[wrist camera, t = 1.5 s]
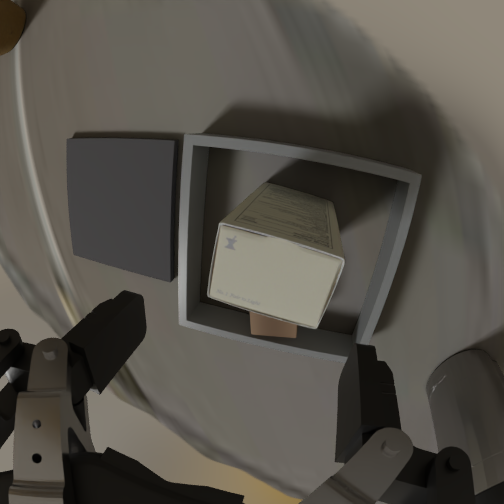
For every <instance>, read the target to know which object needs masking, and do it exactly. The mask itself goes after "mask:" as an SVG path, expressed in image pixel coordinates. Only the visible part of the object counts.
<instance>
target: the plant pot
mask: <svg viewBox="0 0 504 504" xmlns="http://www.w3.org/2000/svg"><path fill="white" fill-rule="evenodd" d="M25 20H26V14H25V11H24V10H23V9H22V8H21V7H20V6H18V5H17V4H15V3H14V2H13V1H11V0H0V56H1V55H3V54H5V53H8V52H9V51H11V50H12V49H13V48H14V46H15V45H16V43H17V42H18V40H19V38H20V36H21V34H22V31H23V28H24V25H25Z"/></svg>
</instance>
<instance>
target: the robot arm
mask: <svg viewBox="0 0 504 504" xmlns="http://www.w3.org/2000/svg"><path fill="white" fill-rule="evenodd" d="M146 328H147V327H146V317H145V307H144V299H143V296H142V295H140V294H136V293H133V292H129V291H126V290H124V291H122V292H121V293H120V294H118V295H117V296H116V297H115V298H114V299H109V300H107V301H105V302H103V303H100V304H99V305H98V306H97V307H96V308H94V309H93V310H92V312H91V313H89V314H88V315H87V316H86V317H85V319H84V318H83V319H82V320H81V321H80V322H79V323H78V324H77V325H76V326H75V327H73V328H72V329H71V330H70V331H69V332H68V333H67V334H66V335H65V336H64V337H63V338H62V339H59V338H47V339H44V340H42V341H40V342H39V343H38V344H37V345H33V344H29V343H24V342H22V340H21V337H20V335H19V333H18V332H17V331H16V330H14V329H4V330H1V331H0V378H1V377H2V376H3V375H4V374H5V375H6V377H7V379H8V381H9V382H8V383H7V385H6V386H5V387H4V388H3V389H2V390H1V391H0V448H1V447H2V445H3V444H4V443H5V441H6V440H7V439H8V437H9V436H10V434H11V433H12V432H13V430H14V450H13V470H10V471H5V472H0V504H244V503H242V502H243V499H244V496H243V495H239V494H235V493H230V492H227V491H223V490H219V489H215V488H212V487H208V486H198V485H188V484H180V483H172V482H168V481H166V480H164V479H162V478H161V477H160V476H158V475H157V474H155V473H153V472H152V471H151V470H149V469H148V468H147V467H145V466H144V465H142V464H141V463H140V462H138V461H137V460H135V459H132V458H130V457H128V456H126V455H124V454H121V453H119V452H117V451H115V450H113V449H111V448H109V447H107V449H106V450H105V452H104V453H97V452H95V448H94V446H93V443H92V440H91V434H90V426H89V416H88V405H87V404H88V403H87V396H86V393H87V392H88V391H89V390H91V391H93V392H95V393H97V394H101V393H102V391H103V390H104V389H105V387H106V386H107V385H108V384H109V382H110V381H111V380H112V379H113V377H114V376H115V375H116V373H117V372H118V371H119V370H120V368H121V367H122V366H123V365H124V363H125V362H126V361H127V359H128V358H129V357H130V356H131V354H132V353H133V352H134V351H135V349H136V348H137V347H138V346H139V344H140V343H141V342H142V341H143V339H144V337H145V334H146ZM426 391H427V396H428V400H429V405H430V409H431V414H432V419H433V424H434V429H435V435H436V440H437V446H438V452H439V453H438V454H436V453H432V452H429V451H425V450H422V449H419V448H416V447H415V446H413V444H412V441H411V439H410V438H409V436H408V435H407V434H406V433H404V432H403V431H402V430H401V424H400V416H399V409H398V403H397V396H396V395H395V394H396V390H395V386H394V379H393V373H392V371H391V370H390V368H389V367H388V365H387V364H386V362H385V361H377V355H376V349H375V346H372V345H365V344H358V343H354V344H353V346H352V348H351V351H350V353H349V356H348V358H347V361H346V363H345V365H344V368H343V370H342V373H341V376H340V379H339V385H338V412H337V435H336V452H335V462H340V463H344V466H343V467H342V468H341V469H340V470H339V471H338V472H337V473H336V474H334V475H333V476H331V477H330V478H328V479H327V480H326V481H325V482H324V483H323V484H321V485H320V486H319V487H318V488H317V489H316V490H314V491H313V492H312V493H311V494H310V495H309V496H307V497H306V498H305V499H304V500H302V501H301V502H300V503H299V504H375V503H376V502H377V501H381V502H385V503H388V504H504V376H503V374H502V371H501V369H500V367H499V365H498V363H497V362H496V361H492V360H491V358H490V356H489V355H488V354H487V353H486V352H484V351H482V350H476V349H475V350H468V351H464V352H461V353H459V354H456V355H454V356H452V357H451V358H449V359H447V360H446V361H445V362H443V363H442V364H441V365H440V366H439V367H438V368H437V369H436V370H435V371H434V372H433V374H432V375H431V376H430V378H429V380H428V383H427V387H426Z"/></svg>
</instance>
